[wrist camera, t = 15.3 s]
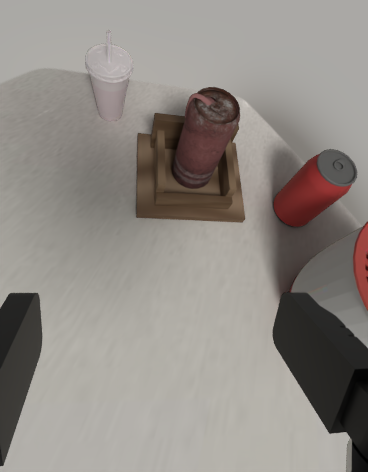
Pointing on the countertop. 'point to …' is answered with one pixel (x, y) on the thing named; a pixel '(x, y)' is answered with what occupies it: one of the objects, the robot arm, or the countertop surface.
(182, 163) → the can
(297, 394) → the countertop surface
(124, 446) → the countertop surface
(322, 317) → the robot arm
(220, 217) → the dock
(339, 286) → the citrus juicer
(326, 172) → the beer can
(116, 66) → the smoothie
